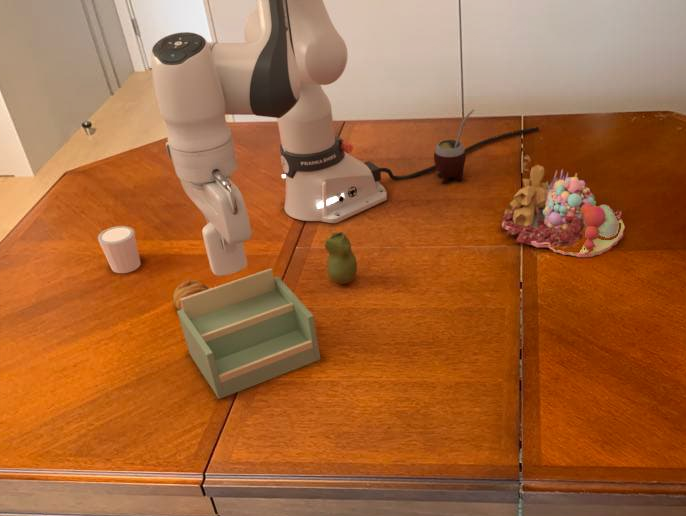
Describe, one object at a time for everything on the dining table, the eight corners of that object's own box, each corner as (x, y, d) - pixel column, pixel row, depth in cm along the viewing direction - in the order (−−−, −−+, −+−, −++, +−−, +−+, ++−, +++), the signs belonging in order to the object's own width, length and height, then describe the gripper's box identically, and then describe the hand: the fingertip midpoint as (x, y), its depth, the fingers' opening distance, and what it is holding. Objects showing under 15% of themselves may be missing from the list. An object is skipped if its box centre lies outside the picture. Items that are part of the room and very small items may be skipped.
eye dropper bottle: (214, 262, 129) (197, 193, 121) (249, 260, 129) (235, 191, 121) (209, 277, 126) (192, 207, 118) (245, 275, 126) (231, 205, 118)
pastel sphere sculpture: (486, 242, 161) (487, 200, 155) (521, 190, 177) (523, 149, 171) (611, 264, 153) (616, 220, 147) (635, 207, 169) (641, 165, 163)
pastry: (224, 315, 146) (219, 297, 143) (188, 327, 143) (182, 310, 141) (206, 291, 152) (201, 273, 149) (171, 302, 149) (166, 285, 147)
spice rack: (286, 319, 144) (276, 266, 137) (320, 359, 135) (312, 305, 128) (189, 354, 137) (173, 300, 130) (218, 399, 128) (203, 344, 121)
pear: (363, 278, 153) (358, 231, 146) (348, 292, 150) (342, 245, 143) (338, 271, 155) (332, 224, 148) (323, 285, 152) (316, 238, 145)
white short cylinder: (134, 276, 157) (123, 244, 152) (101, 273, 158) (90, 242, 153) (149, 257, 162) (140, 226, 157) (118, 255, 163) (108, 224, 158)
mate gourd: (429, 181, 182) (426, 115, 172) (446, 167, 187) (445, 103, 177) (457, 188, 179) (456, 122, 169) (475, 174, 184) (475, 108, 174)
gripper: (253, 179, 110) (269, 267, 119) (201, 129, 123) (220, 211, 132) (209, 192, 108) (229, 280, 117) (161, 140, 121) (183, 222, 130)
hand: (224, 243), depth 125 cm, fingers closed on eye dropper bottle, 3 cm apart
